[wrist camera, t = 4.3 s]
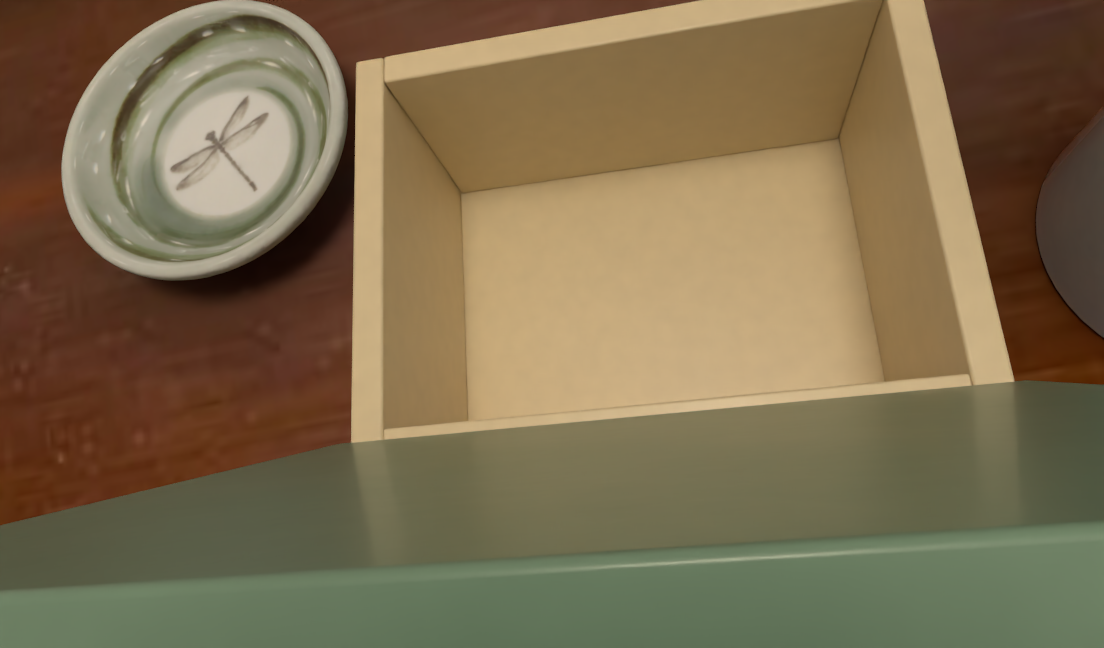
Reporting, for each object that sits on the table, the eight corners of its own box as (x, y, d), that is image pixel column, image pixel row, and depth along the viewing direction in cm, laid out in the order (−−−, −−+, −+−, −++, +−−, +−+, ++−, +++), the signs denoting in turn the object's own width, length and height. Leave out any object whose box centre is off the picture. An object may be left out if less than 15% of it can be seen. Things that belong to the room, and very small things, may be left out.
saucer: (248, 357, 24) (200, 337, 22) (63, 210, 27) (3, 179, 25) (431, 116, 25) (403, 73, 23) (234, 1, 28) (192, -47, 26)
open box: (446, 186, 24) (354, 61, 18) (855, 126, 22) (915, -40, 16) (453, 489, 22) (349, 466, 15) (920, 451, 20) (1022, 408, 13)
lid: (-388, 618, 5) (-385, 748, 5) (2278, 451, 3) (2332, 676, 3) (337, 443, 15) (340, 484, 15) (1030, 380, 13) (1036, 427, 13)
